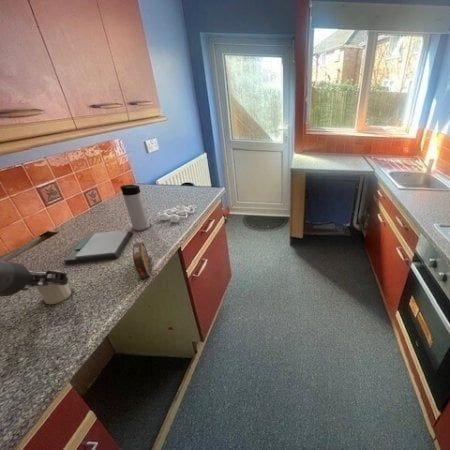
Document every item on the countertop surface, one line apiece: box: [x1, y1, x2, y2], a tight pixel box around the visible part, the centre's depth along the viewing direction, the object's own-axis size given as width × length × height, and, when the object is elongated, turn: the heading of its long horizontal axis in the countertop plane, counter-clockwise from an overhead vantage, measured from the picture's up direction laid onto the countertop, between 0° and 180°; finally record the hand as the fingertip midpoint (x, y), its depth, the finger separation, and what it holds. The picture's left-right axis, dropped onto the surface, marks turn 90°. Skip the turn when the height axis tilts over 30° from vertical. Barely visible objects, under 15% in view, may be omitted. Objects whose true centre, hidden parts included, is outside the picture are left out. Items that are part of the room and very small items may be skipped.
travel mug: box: [120, 184, 151, 232], centre depth 104 cm, size 6×7×20 cm
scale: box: [63, 229, 133, 265], centre depth 93 cm, size 15×18×3 cm
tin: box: [132, 241, 151, 279], centre depth 83 cm, size 15×3×8 cm, turn 30°
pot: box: [35, 269, 72, 305], centre depth 70 cm, size 6×6×8 cm
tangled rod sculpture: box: [156, 204, 198, 223], centre depth 121 cm, size 19×14×4 cm
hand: (46, 283), depth 67 cm, fingers open, 8 cm apart
